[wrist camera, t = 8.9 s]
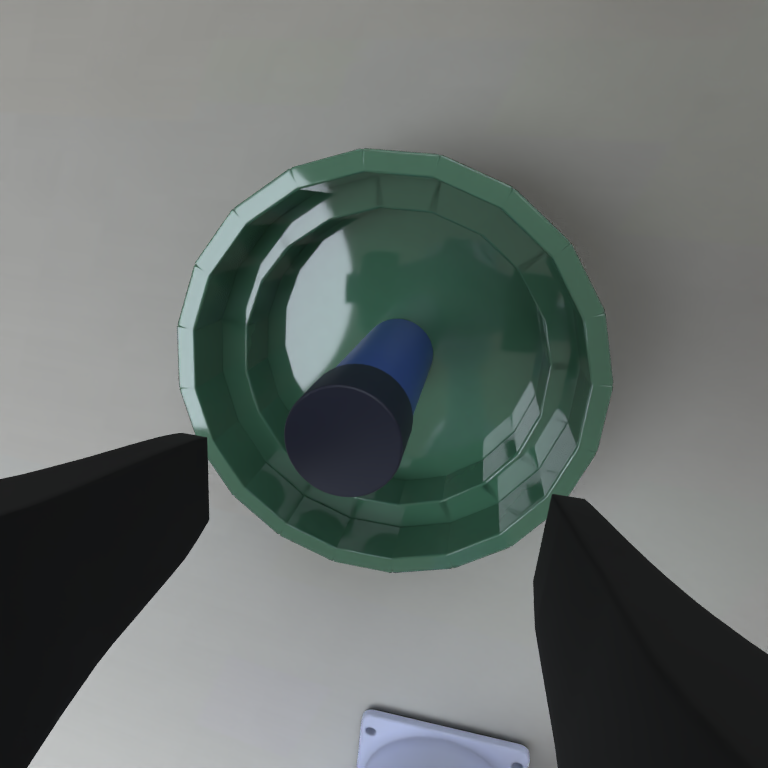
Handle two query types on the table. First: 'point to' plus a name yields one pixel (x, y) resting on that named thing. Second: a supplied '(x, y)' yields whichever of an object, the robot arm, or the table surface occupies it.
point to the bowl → (438, 320)
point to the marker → (361, 412)
